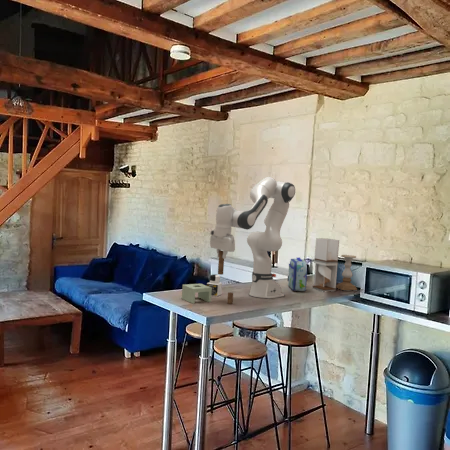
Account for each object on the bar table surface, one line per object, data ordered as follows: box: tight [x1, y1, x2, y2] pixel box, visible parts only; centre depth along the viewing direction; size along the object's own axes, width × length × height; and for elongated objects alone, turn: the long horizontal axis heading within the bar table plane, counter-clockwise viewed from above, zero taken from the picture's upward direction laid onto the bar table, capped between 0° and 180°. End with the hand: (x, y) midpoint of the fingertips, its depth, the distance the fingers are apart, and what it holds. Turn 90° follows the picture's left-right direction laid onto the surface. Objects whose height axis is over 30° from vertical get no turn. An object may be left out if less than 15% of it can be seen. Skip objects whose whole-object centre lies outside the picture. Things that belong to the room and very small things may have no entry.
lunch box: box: [287, 257, 308, 292], centre depth 302 cm, size 26×11×21 cm, turn 178°
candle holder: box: [336, 254, 358, 291], centre depth 312 cm, size 11×11×24 cm
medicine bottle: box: [206, 273, 223, 297], centre depth 268 cm, size 7×7×12 cm
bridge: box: [181, 283, 212, 305], centre depth 250 cm, size 12×12×8 cm
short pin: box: [226, 292, 234, 305], centre depth 247 cm, size 3×3×6 cm
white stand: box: [311, 237, 340, 293], centre depth 305 cm, size 11×11×35 cm
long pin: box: [217, 250, 225, 276], centre depth 248 cm, size 3×3×13 cm
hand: (221, 257), depth 247 cm, fingers closed on long pin, 3 cm apart
